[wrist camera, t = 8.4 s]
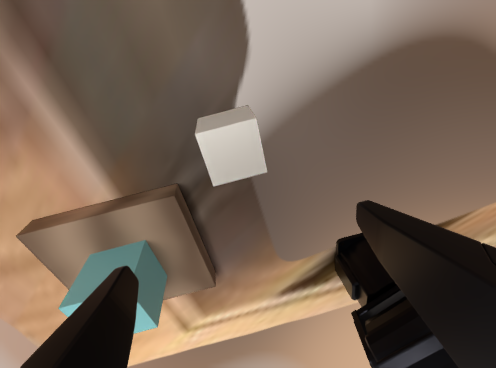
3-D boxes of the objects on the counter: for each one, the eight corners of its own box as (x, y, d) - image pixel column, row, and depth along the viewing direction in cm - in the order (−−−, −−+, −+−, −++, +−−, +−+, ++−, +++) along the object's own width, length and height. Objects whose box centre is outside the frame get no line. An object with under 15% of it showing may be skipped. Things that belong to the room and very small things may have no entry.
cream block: (247, 105, 18) (256, 117, 15) (257, 151, 20) (267, 172, 17) (197, 118, 18) (195, 134, 15) (212, 163, 20) (213, 186, 17)
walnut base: (177, 183, 21) (174, 195, 19) (215, 271, 27) (215, 286, 25) (32, 220, 20) (15, 236, 19) (104, 300, 26) (96, 317, 25)
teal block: (145, 239, 21) (128, 290, 16) (167, 275, 23) (157, 327, 19) (90, 254, 21) (58, 308, 16) (118, 288, 23) (97, 343, 19)
